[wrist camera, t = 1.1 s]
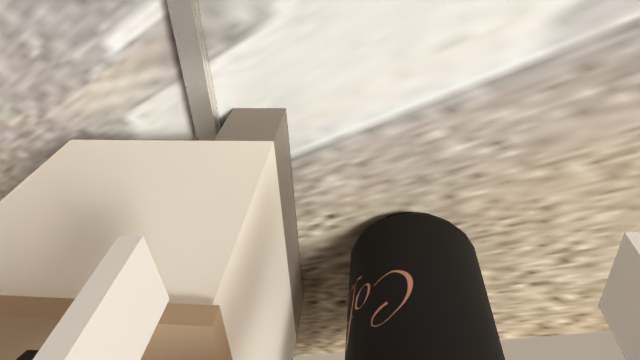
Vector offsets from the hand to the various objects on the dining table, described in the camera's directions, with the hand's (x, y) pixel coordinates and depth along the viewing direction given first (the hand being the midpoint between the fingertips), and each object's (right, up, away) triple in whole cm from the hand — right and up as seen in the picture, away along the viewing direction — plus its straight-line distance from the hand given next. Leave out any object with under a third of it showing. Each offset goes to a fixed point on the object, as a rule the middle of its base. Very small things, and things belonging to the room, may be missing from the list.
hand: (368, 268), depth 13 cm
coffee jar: (+7, -4, +27) cm, 28 cm away
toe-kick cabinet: (-10, 0, +27) cm, 29 cm away
